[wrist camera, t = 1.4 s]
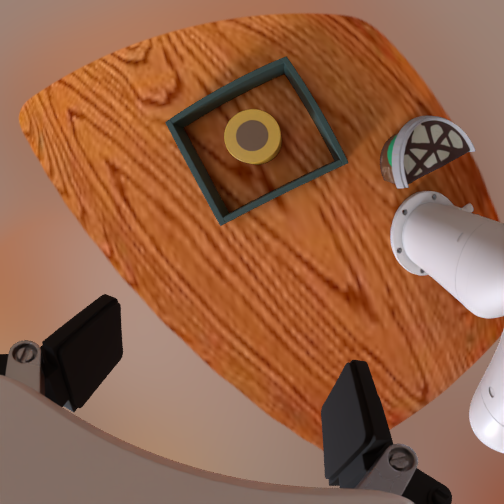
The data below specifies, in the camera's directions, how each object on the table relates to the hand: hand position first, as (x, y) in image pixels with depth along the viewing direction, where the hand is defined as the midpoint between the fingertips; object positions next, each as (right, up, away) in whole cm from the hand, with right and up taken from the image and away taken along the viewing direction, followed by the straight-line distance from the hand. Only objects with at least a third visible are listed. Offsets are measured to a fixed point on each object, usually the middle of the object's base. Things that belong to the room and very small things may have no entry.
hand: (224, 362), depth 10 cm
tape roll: (+2, +19, +24) cm, 31 cm away
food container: (+22, +19, +22) cm, 36 cm away
